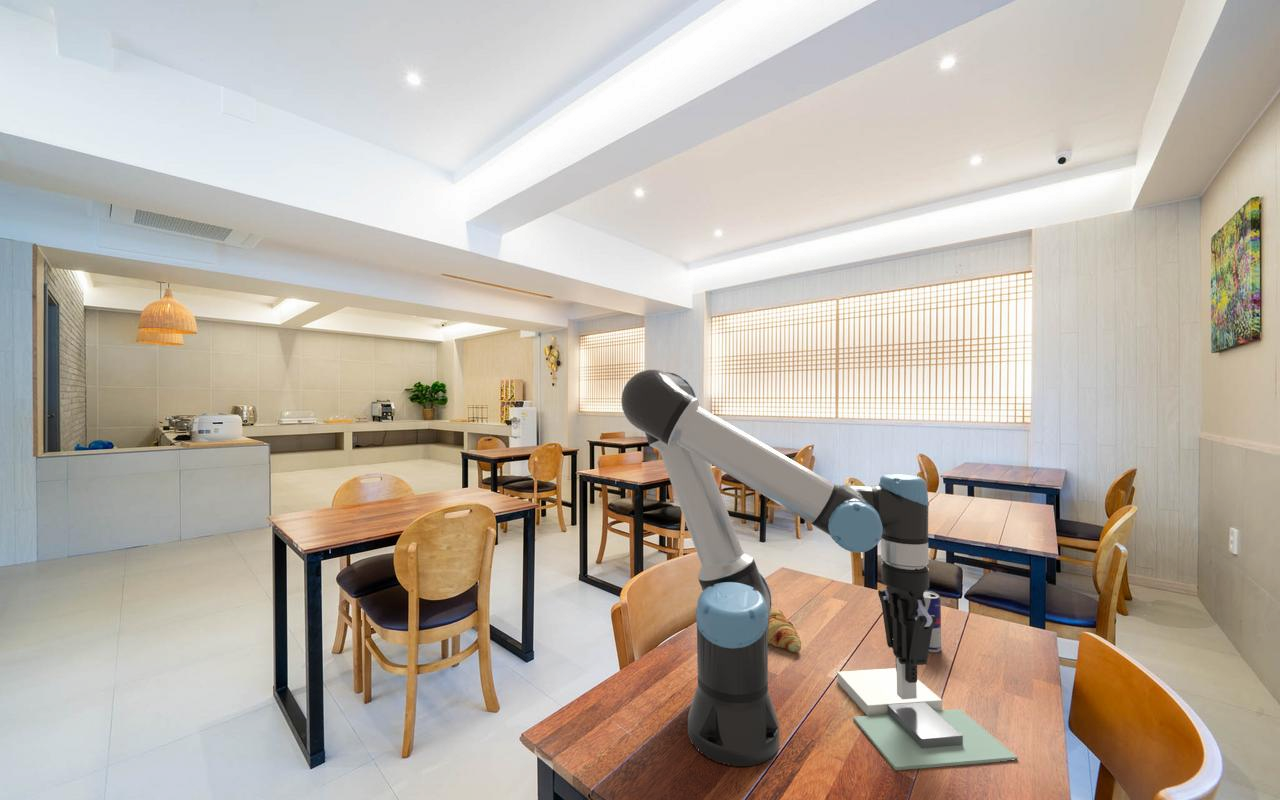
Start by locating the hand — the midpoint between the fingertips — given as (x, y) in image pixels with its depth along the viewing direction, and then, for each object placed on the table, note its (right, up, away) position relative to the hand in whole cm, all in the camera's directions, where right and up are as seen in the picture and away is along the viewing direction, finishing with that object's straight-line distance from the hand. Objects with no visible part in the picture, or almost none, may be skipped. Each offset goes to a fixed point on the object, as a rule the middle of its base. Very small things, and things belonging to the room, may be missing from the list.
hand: (906, 696), depth 87 cm
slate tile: (+1, -3, -4) cm, 5 cm away
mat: (+1, -3, -6) cm, 7 cm away
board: (-1, -4, +6) cm, 7 cm away
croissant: (-17, -4, +30) cm, 35 cm away
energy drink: (+18, -4, +24) cm, 30 cm away
